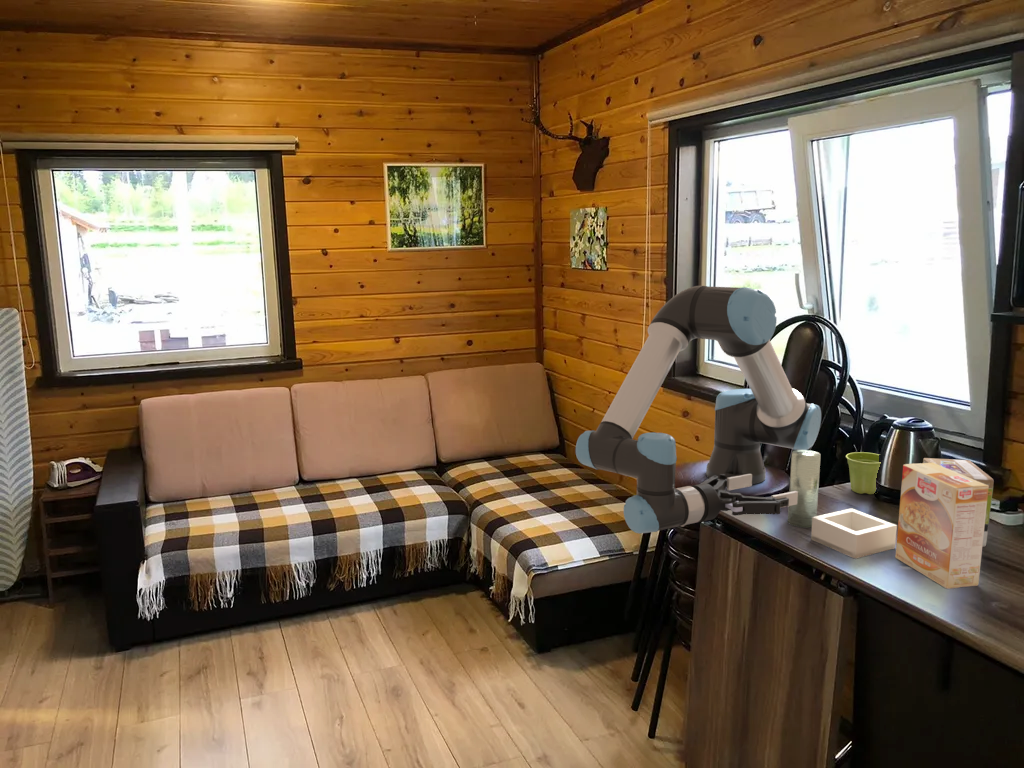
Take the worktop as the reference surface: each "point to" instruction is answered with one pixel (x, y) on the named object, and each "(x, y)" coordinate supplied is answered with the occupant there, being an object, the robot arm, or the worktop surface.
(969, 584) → the coffeecake box
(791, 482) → the canister
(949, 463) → the tea box
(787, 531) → the worktop surface
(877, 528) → the well
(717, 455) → the robot arm
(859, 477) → the plant pot
